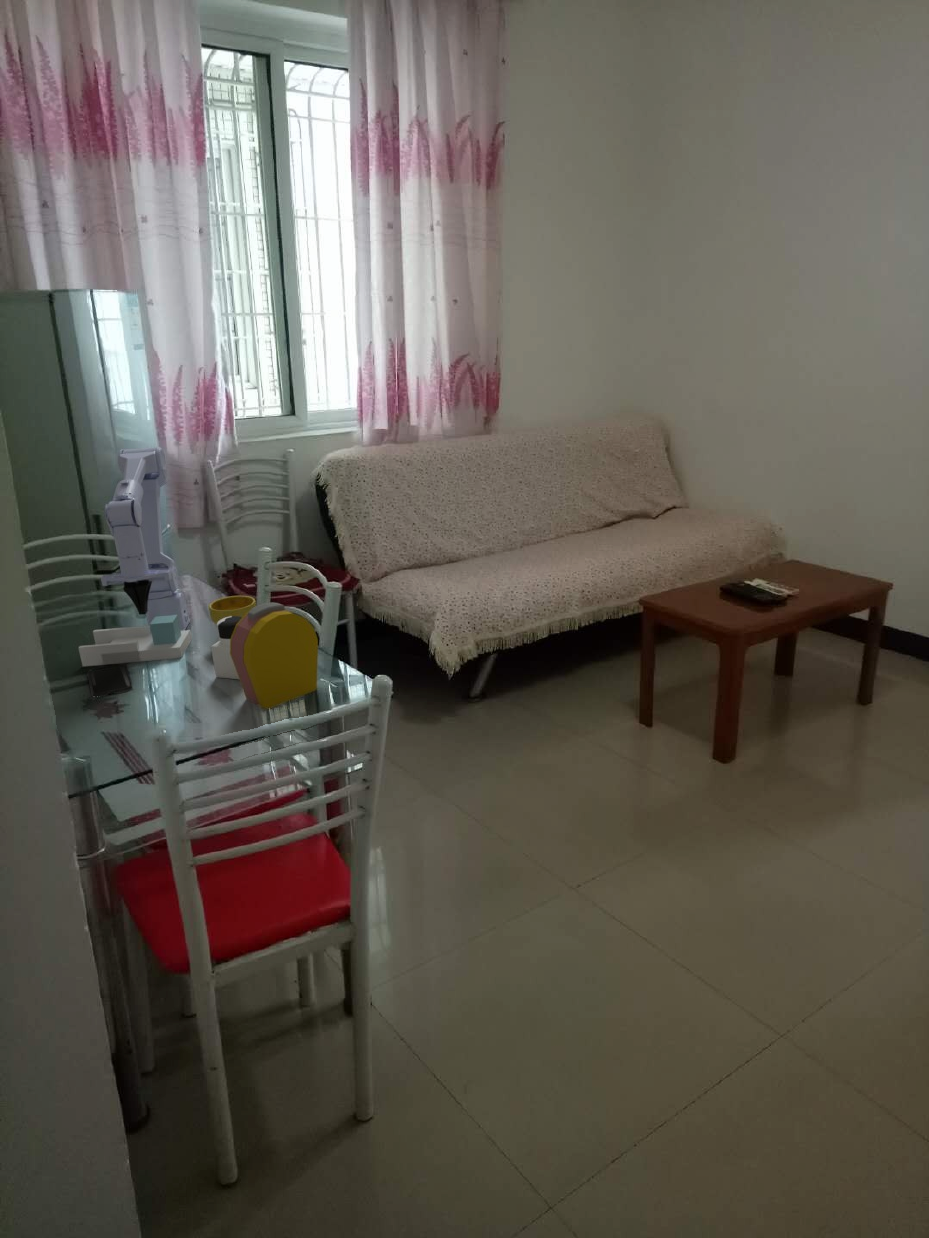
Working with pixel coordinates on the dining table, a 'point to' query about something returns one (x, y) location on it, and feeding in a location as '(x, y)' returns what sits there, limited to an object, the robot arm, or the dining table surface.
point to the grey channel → (130, 646)
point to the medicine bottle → (224, 648)
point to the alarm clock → (274, 655)
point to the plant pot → (230, 607)
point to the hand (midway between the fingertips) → (143, 613)
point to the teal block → (165, 629)
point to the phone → (109, 680)
